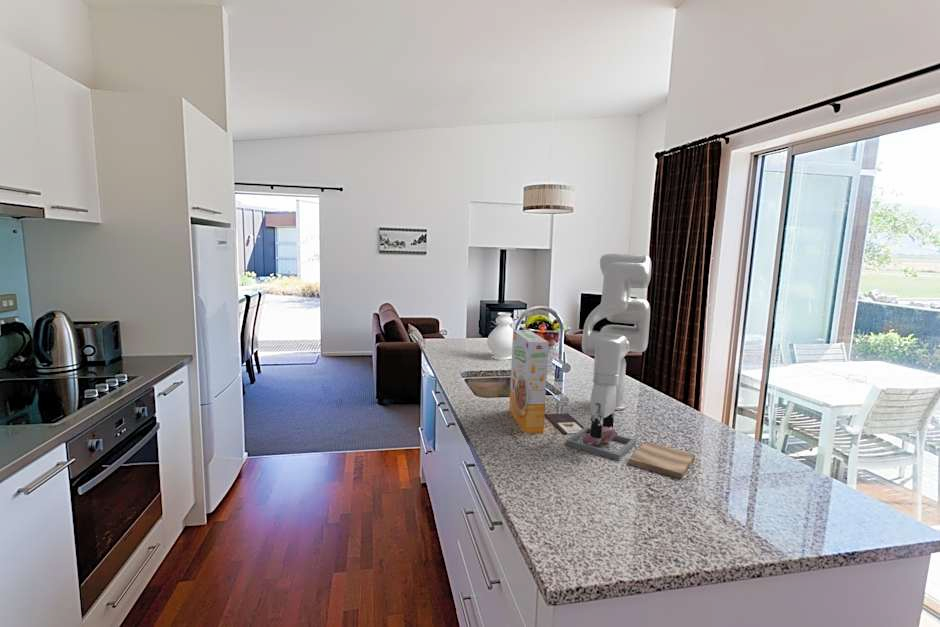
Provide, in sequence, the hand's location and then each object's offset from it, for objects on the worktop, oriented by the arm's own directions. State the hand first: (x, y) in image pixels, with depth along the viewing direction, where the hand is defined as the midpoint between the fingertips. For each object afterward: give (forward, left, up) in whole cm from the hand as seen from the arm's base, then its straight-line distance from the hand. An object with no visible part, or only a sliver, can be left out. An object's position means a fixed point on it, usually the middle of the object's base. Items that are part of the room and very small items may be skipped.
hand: (601, 433), depth 145 cm
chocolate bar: (-10, -16, -4) cm, 19 cm away
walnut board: (0, +18, -4) cm, 18 cm away
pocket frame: (0, 0, -4) cm, 4 cm away
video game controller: (-1, -1, -4) cm, 4 cm away
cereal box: (-2, -28, -4) cm, 28 cm away
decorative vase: (-81, -88, -4) cm, 120 cm away
